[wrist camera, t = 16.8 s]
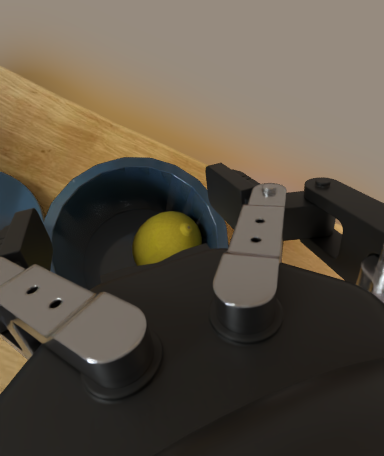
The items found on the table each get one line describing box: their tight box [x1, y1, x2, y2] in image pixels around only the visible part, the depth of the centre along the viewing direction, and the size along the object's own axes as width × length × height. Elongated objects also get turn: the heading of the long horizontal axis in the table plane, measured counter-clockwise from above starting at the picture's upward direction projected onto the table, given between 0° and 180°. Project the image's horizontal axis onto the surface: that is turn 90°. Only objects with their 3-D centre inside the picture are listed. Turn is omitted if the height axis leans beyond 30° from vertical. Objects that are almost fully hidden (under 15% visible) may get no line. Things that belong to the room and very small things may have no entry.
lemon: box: [132, 211, 202, 266], centre depth 25 cm, size 6×6×8 cm
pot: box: [43, 157, 229, 290], centre depth 24 cm, size 13×13×10 cm
